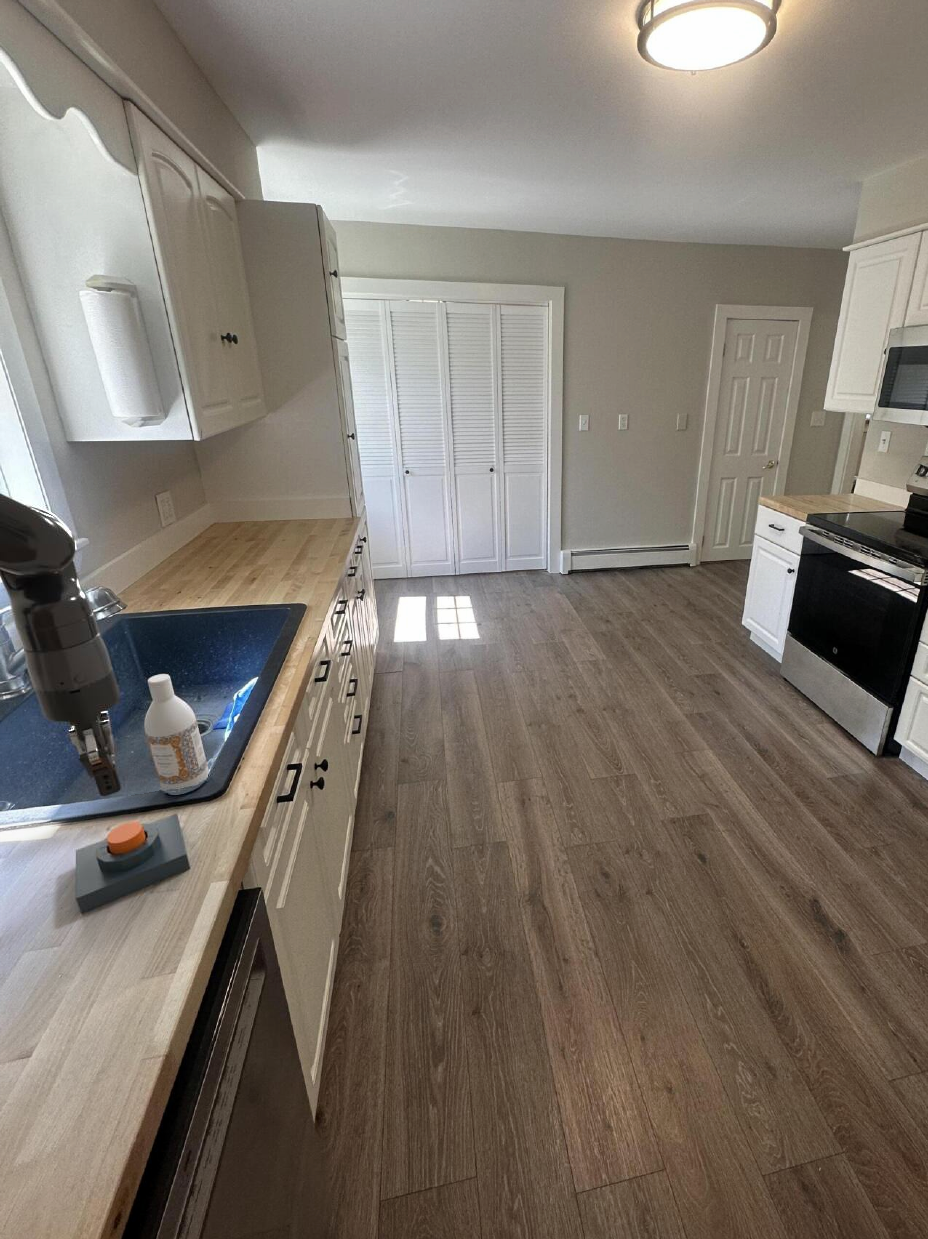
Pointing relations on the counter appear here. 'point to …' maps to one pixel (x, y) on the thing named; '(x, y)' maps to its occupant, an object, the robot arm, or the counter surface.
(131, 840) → the button
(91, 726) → the robot arm
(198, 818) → the counter surface
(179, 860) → the button base
